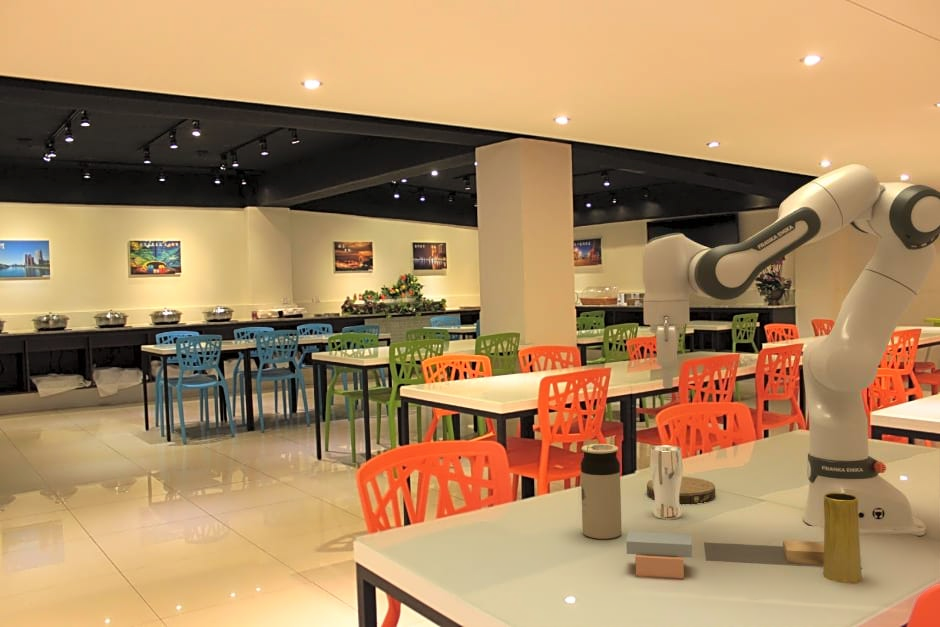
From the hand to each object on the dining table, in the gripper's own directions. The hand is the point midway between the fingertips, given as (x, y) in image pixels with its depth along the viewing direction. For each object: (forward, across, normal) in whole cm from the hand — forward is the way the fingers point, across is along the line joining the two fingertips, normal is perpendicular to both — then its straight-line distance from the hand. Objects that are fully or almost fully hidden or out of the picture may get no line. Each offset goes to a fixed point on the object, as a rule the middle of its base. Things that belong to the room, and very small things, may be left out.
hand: (668, 384), depth 152 cm
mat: (+31, -8, -19) cm, 37 cm away
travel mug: (+31, +1, +14) cm, 34 cm away
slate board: (+27, -19, +2) cm, 33 cm away
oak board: (+30, -9, -26) cm, 41 cm away
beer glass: (+31, +16, +1) cm, 35 cm away
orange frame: (+31, -19, +2) cm, 36 cm away
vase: (+31, -17, -28) cm, 45 cm away
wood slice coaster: (+32, +33, -2) cm, 46 cm away
